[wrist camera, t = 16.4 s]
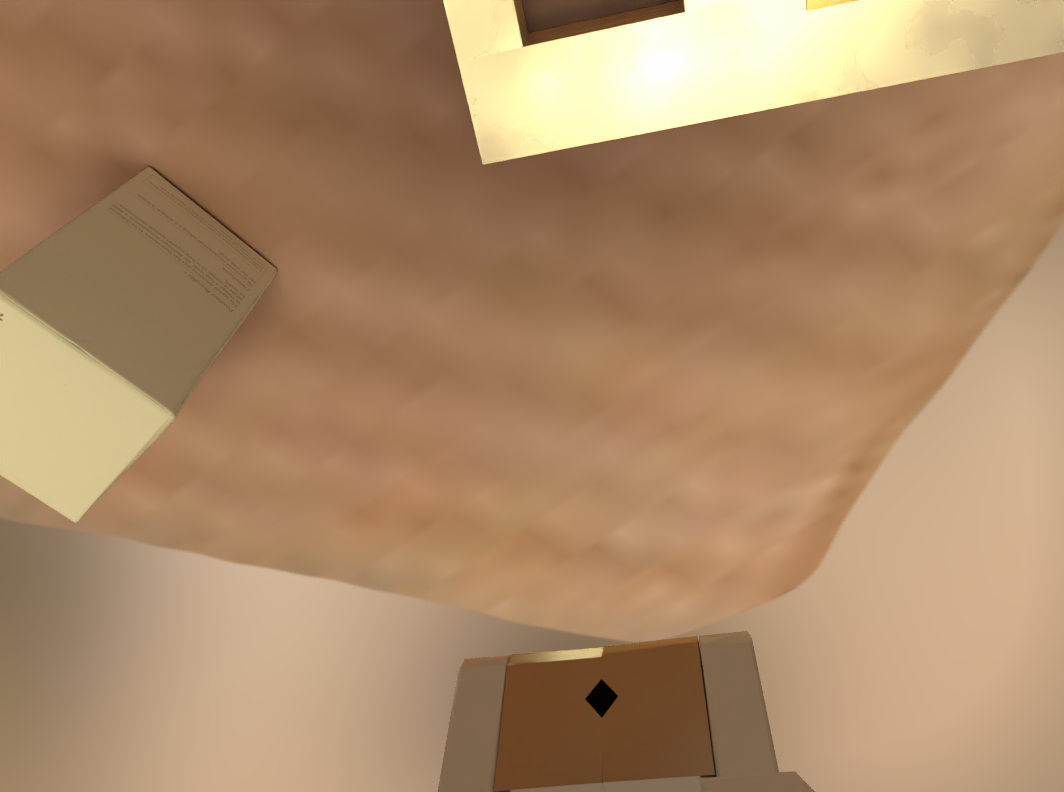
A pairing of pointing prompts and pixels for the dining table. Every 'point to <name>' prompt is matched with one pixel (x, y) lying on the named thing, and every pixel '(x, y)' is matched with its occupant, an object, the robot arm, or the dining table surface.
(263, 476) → the dining table surface
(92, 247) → the supplement box
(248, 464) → the dining table surface
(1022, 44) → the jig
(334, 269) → the dining table surface
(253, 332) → the dining table surface
